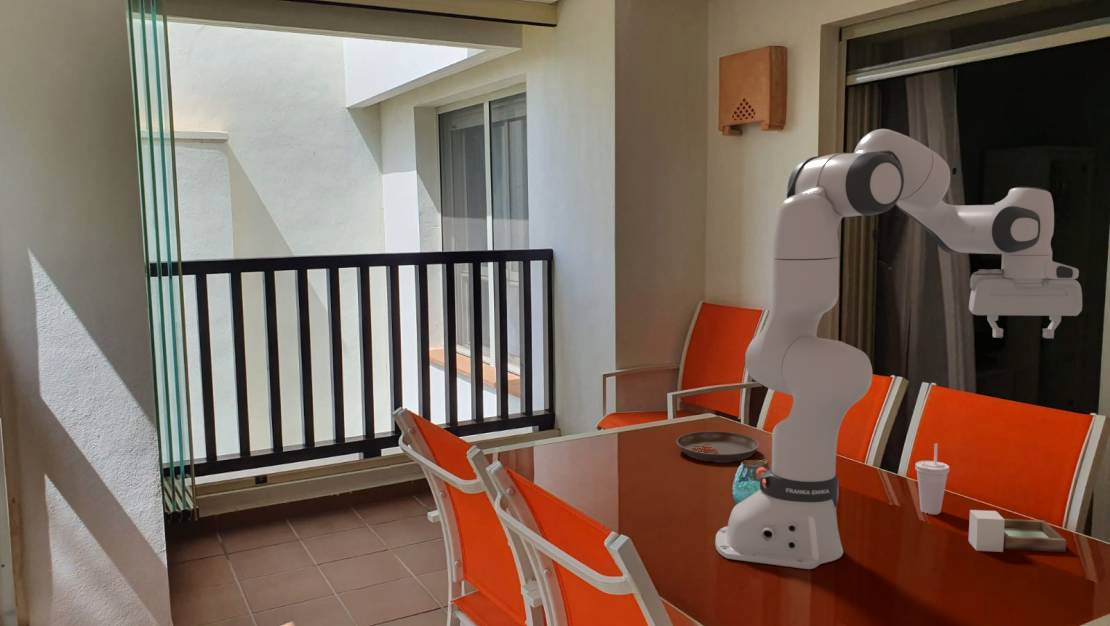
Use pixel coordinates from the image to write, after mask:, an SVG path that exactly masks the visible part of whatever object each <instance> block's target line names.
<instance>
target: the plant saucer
mask: <svg viewBox="0 0 1110 626" xmlns="http://www.w3.org/2000/svg"><path fill="white" fill-rule="evenodd" d="M676 443H677V445H678V447H679V448H680V450H681V451H682V452H683V454H685V455H686V454H687V455H686V456H688V457H689V456H690V457H689V458H692V457H693V458H692V459H694V458H697V459H696V460H698V459H701V460H700V461H702V460H707V461H706V462H709V461H714V462H713V463H734V462H733V461H736V462H741V461H744V460H743V459H745V460H747V459H748V457H749V458H750V457H751V456H752V455H754V454H755V453H756V451H757V450H758V448H759V446H760V443H759V442H758V441H757V440H756V439H754V438H753V437H750V436H747V435H745V434H740V433H735V432H729V431H728V432H727V431H713V430H712V431H708V430H707V431H697V432H696V431H695V432H689V433H686V434H683V435H680V436H679V437H678V438H677V439H676ZM705 444H707V445H705ZM708 444H709V445H708ZM710 444H711V445H710ZM694 446H700V447H694ZM701 446H705V447H706V446H707V447H712V448H710V449H716V450H717V451H718V453H719V454H713V453H714V452H713V453H704V452H698V450H699V449H698V450H697V451H695V450H694V451H693V449H692V448H696V449H697V448H701V449H702V448H703V447H701ZM703 449H704V448H703ZM706 449H707V448H706ZM708 449H709V448H708ZM716 450H715V451H716ZM699 451H700V450H699ZM702 451H703V450H702ZM716 453H717V452H716ZM746 458H747V459H746ZM740 460H741V461H740Z"/></svg>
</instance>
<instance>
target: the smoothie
mask: <svg viewBox="0 0 1110 626" xmlns="http://www.w3.org/2000/svg"><path fill="white" fill-rule="evenodd" d="M933 449H934V451H933V460H920V461H917V462H916V463H915V467H914V468H915V470H916V475H917V486H918V496H919V507H920V512H921V513H923V512H924V514H927V513H928V515H939V513H940V514H941V512H942V511H941V510H942V506H943V501H944V496H945V490H946V483H947V478H948V473H950V466H949V465H948V464H946V463H944V462H942V461H941V462H940V461H938V443H934V448H933Z"/></svg>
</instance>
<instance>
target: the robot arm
mask: <svg viewBox="0 0 1110 626" xmlns="http://www.w3.org/2000/svg"><path fill="white" fill-rule="evenodd" d="M950 170H951V169H950V166H949V165H948V163H947V162H946V161H945V159H944V158H942V156H940V155H939V154H938V153H937V152H935V151H934V150H933V149H931V148H929V147H927V146H926V145H924V144H923V143H921V142H919V141H918V140H916V139H913V138H912V137H910V136H908V135H905V134H903V133H900V132H898V131H894V130H892V129H887V128H879V129H875V130H872V131H870V132H868V133H867V134H865V135H864V136H862V138H861V139H860V140H859V142H858V143H857V145H856V147H855V149H854V152H851V153H850V152H837V153H832V154H827V155H823V156H813V157H809V158H807V159H805V160H803V161H801V162H799V163H798V164H796V166H795V167H794V168H793V170H792V172H791V173H790V176H789V179H788V182H787V192H786V199H785V200H783V201H782V202H781V203H780V205H779V207H778V210H777V215H776V220H775V227H774V232H773V244H772V245H773V247H772V289H771V290H772V294H771V302H770V308H769V312H768V315H767V318H766V322H765V324H764V326H763V328H762V329H761V331H760V332H759V334H758V335H756V336H755V337H754V338H753V339H752V340H751V341H750V343H749V344H748V346H747V348H746V352H745V357H744V359H745V360H744V363H745V369H746V371H747V374H748V375H749V376H750V377H751V378H752V380H754V381H755V382H757V383H759V384H760V385H762V386H764V387H765V388H768V389H769V390H771V391H775V392H779V393H782V394H786V395H790V396H792V398H793V399H792V400H793V401H792V406H791V409H790V413H789V415H788V416H787V417H785V418H784V419H781V421H779V422H778V423H776V425H775V426H774V428H773V430H772V433H771V435H772V436H771V437H772V439H771V468H770V469H767V468H765V467H763V466H760V467H758V468H757V469H756V472H755V474H756V477H757V479H758V480H759V489H758V490H757V491H755V492H753V493H752V494H751V495H749V496H747V498H745V499H743V500H742V501H740V502H738V503H736V504H735V506H734V507H733V508H732V509H731V512H730V515H729V518H728V522H727V526H723V527H722V528H720V529H719V530H718V531H717V533H716V534H715V541H714V545H715V548H716V550H717V552H718V554H720V555H721V556H722V557H724V558H725V559H728V560H729V559H730V560H735V561H743V562H751V563H757V564H758V563H759V564H767V565H774V566H781V567H788V568H789V567H790V568H797V569H803V570H805V569H806V570H812V569H816V568H817V567H818V566H820V565H821V564H827V563H829V562H833V561H837V560H838V559H840V558H841V557H842V556H843V554H844V549H843V545H842V542H841V538H840V537H841V536H840V532H839V527H838V518H837V506H838V501H839V480H838V479H839V477H838V475H837V473H836V469H837V467H836V466H837V463H836V462H837V447H838V437H839V431H840V428H841V425H842V422H843V419H844V418H845V416H846V414H847V412H848V411H849V410H850V409H851V407H853V406H854V405H855V404H856V403H857V402H859V401H861V400H862V399H864V397H865V396H866V394H867V393H868V392H869V389H870V387H871V386H872V381H873V366H872V364H871V359H870V358H869V357H868V355H867V354H866V353H865V352H864V351H862V350H861V349H858V347H857V348H856V347H855V346H852V345H850V344H847V343H846V342H844V341H841V340H835V339H829V338H822V337H818V336H817V334H818V333H817V332H818V328H819V323H820V321H821V319H822V317H823V315H824V314H825V313H827V312H829V311H830V310H832V309H833V308H834V307H835V306H836V304H837V303H838V300H839V288H840V287H839V286H840V283H839V282H840V281H839V277H840V275H839V270H840V267H839V265H840V262H839V260H840V258H839V256H840V255H839V254H840V253H839V252H840V249H839V248H840V247H839V236H838V231H839V230H838V229H839V226H840V223H841V221H842V219H843V218H847V217H848V218H849V217H850V218H851V217H852V218H853V217H857V216H858V217H859V216H861V217H862V216H867V217H868V216H869V217H871V216H875V215H880V214H882V213H886V212H888V211H889V210H891V209H893V207H894V206H896V207H897V208H898V209H899V210H900V211H901V212H903V214H905V215H906V216H908V218H910V219H912V220H913V221H914V222H916V224H918V225H920V226H921V227H922V228H923V229H924V230H926V231H927V232H928V233H929V234H930V235H931V237H932V238H933V240H934V242H935V243H936V245H937V246H938V247H939V248H940V249H941V250H942V251H943V252H945V253H947V254H951V255H956V254H959V255H960V254H984V255H985V254H989V255H990V254H992V255H993V254H994V255H1001V268H1000V269H999V268H997V269H996V268H995V269H994V268H993V269H984V268H983V269H982V268H981V269H978V271H975V272H972V274H971V276H970V279H969V287H970V289H971V291H970V295H969V303H968V310H969V311H970V312H971V314H973V315H975V316H986V317H987V322H988V323H989V325H990V327H991V328H992V338H997V339H998V338H1000V339H1001V338H1003V337H1004V329H1003V328H1001V327H999V326H998V325H997V324H998V323H997V322H996V321H999V316H1030V317H1031V316H1033V317H1035V316H1036V317H1037V316H1044V317H1045V316H1047V317H1048V316H1049V320H1050V321H1051V322H1050V323H1049V325H1048V326H1047V328H1042V338H1044V339H1054V337H1055V330H1056V329H1057V328H1058V326H1059V325H1060V323H1061V322H1062V317H1063V316H1065V317H1066V316H1067V317H1068V316H1069V317H1072V316H1073V317H1077V316H1078V315H1079V314H1080V313H1081V312H1082V311H1083V291H1082V287H1081V286H1082V285H1081V284H1080V282H1079V281H1078V280H1076V279H1078V278H1079V274H1080V271H1079V269H1078V268H1076V267H1073V266H1070V265H1066V264H1064V263H1062V262H1057V261H1053V248H1052V245H1051V242H1052V238H1053V235H1054V229H1055V210H1054V201H1053V197H1052V193H1051V192H1049V190H1047V189H1044V188H1041V187H1034V186H1033V187H1031V186H1017V187H1013V188H1011V189H1009V190H1008V193H1007V195H1006V196H1005V197H1004V198H1003V199H1001V200H1000V201H997V202H995V203H994V204H974V205H973V204H971V205H965V204H949V203H946V202H945V201H944V200H943V199H944V197H945V195H946V193H947V192H948V190H949V187H950V183H951V171H950Z"/></svg>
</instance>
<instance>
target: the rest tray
mask: <svg viewBox="0 0 1110 626" xmlns="http://www.w3.org/2000/svg"><path fill="white" fill-rule="evenodd" d="M1003 519H1004V520H1005V522H1004V543H1003V549H1005V550H1013V551H1014V550H1015V551H1034V552H1037V551H1038V552H1049V553H1050V552H1053V553H1054V552H1055V553H1066V551H1067V549H1066V548H1067V540H1066V538H1064V536H1062V535H1061V534H1060V533H1059V532H1058V531H1056V530H1055V529H1054V528H1053V527H1052V526H1051V525H1050V524H1049V523H1047V521H1045V520H1041V519H1040V520H1039V519H1016V518H1015V519H1014V518H1003Z"/></svg>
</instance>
